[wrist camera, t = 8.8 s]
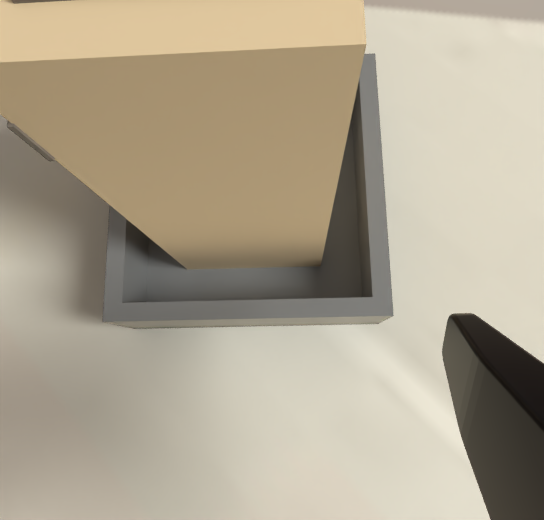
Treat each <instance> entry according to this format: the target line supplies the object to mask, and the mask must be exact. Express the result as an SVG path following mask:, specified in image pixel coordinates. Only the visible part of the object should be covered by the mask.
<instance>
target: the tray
mask: <svg viewBox="0 0 544 520" xmlns="http://www.w3.org/2000/svg"><path fill="white" fill-rule="evenodd" d="M392 316H393V303H392V289H391V274H390V260H389V246H388V231H387V217H386V203H385V189H384V174H383V160H382V146H381V132H380V117H379V103H378V89H377V75H376V60H375V54H364V58H363V63H362V67H361V72H360V77H359V82H358V87H357V92H356V97H355V101H354V106H353V111H352V116H351V121H350V126H349V131H348V135H347V140H346V145H345V150H344V155H343V160H342V165H341V169H340V174H339V179H338V184H337V189H336V194H335V199H334V203H333V208H332V213H331V218H330V223H329V228H328V232H327V237H326V242H325V247H324V252H323V257H322V262H321V266H309V267H269V268H229V269H188V270H187V269H186V268H185V267H184V266H183V265H181V264H180V263H179V262H178V261H177V260H175V259H174V258H173V257H172V256H171V255H169V254H168V253H167V252H166V251H164V250H163V249H162V248H161V247H160V246H158V245H157V244H156V243H155V242H154V241H152V240H151V239H150V238H149V237H148V236H146V235H145V234H144V233H143V232H142V231H140V230H139V229H138V228H137V227H136V226H134V225H133V224H132V223H131V222H130V221H128V220H127V219H126V218H125V217H124V216H122V215H121V214H120V213H119V212H118V211H116V210H115V209H114V208H113V207H112V206H110V210H109V226H108V242H107V258H106V274H105V291H104V307H103V322H105V323H110V324H115V325H120V326H125V327H129V328H134V329H141V328H192V327H243V326H293V325H344V324H379V323H381V322H382V321H384V320H386V319H388V318H390V317H392Z"/></svg>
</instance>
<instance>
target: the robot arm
mask: <svg viewBox="0 0 544 520" xmlns="http://www.w3.org/2000/svg"><path fill="white" fill-rule="evenodd" d="M442 355H443V362H444V366H445V370H446V375H447V379H448V383H449V388H450V392H451V396H452V401H453V405H454V409H455V414H456V418H457V422H458V426H459V430H460V434H461V437H462V440H463V443H464V446H465V449H466V452H467V455H468V458H469V460H470V463H471V466H472V469H473V472H474V474H475V477H476V480H477V483H478V485H479V488H480V491H481V494H482V497H483V499H484V502H485V505H486V508H487V511H488V513H489V516H490V519H491V520H544V363H542V362H541V361H540V360H538V359H537V358H535V357H534V356H533V355H531V354H530V353H528V352H527V351H526V350H524V349H523V348H521V347H520V346H519V345H517V344H516V343H514V342H513V341H512V340H510V339H509V338H507V337H506V336H504V335H503V334H502V333H500V332H499V331H497V330H496V329H495V328H493V327H492V326H490V325H489V324H488V323H486V322H485V321H483V320H482V319H481V318H479V317H478V316H476V315H475V314H472V313H458V314H452V315H450V316H449V318H448V321H447V326H446V331H445V337H444V342H443V348H442Z"/></svg>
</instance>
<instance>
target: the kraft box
mask: <svg viewBox="0 0 544 520" xmlns="http://www.w3.org/2000/svg"><path fill="white" fill-rule="evenodd" d="M365 48H366V31H365V16H364V0H0V114H1V115H2V116H3V117H4V118H6V119H7V120H8V123H7V127H8V128H9V129H10V130H11V131H13V132H14V133H15V134H16V135H18V136H19V137H20V138H21V139H22V140H24V141H25V142H26V143H27V144H29V145H30V146H31V147H32V148H34V149H35V150H36V151H37V152H39V153H40V154H41V155H42V156H44V157H45V158H46V159H47V160H49V161H55V160H56V161H57V162H59V163H60V164H61V165H62V166H63V167H65V168H66V169H67V170H68V171H69V172H71V173H72V174H73V175H74V176H75V177H77V178H78V179H79V180H80V181H81V182H83V183H84V184H85V185H86V186H87V187H89V188H90V189H91V190H92V191H93V192H95V193H96V194H97V195H98V196H100V197H101V198H102V199H103V200H104V201H106V202H107V203H108V204H109V205H110V206H112V207H113V208H114V209H115V210H116V211H118V212H119V213H120V214H121V215H122V216H124V217H125V218H126V219H127V220H128V221H130V222H131V223H132V224H133V225H134V226H136V227H137V228H138V229H139V230H140V231H142V232H143V233H144V234H145V235H146V236H148V237H149V238H150V239H151V240H152V241H154V242H155V243H156V244H157V245H158V246H160V247H161V248H162V249H163V250H164V251H166V252H167V253H168V254H169V255H171V256H172V257H173V258H174V259H175V260H177V261H178V262H179V263H180V264H181V265H183V266H184V267H185V268H186V269H187V270H188V269H229V268H269V267H309V266H321V262H322V257H323V252H324V247H325V242H326V237H327V232H328V228H329V223H330V218H331V213H332V208H333V203H334V199H335V194H336V189H337V184H338V179H339V174H340V169H341V165H342V160H343V155H344V150H345V145H346V140H347V135H348V131H349V126H350V121H351V116H352V111H353V106H354V101H355V97H356V92H357V87H358V82H359V77H360V72H361V67H362V63H363V58H364V53H365Z"/></svg>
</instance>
